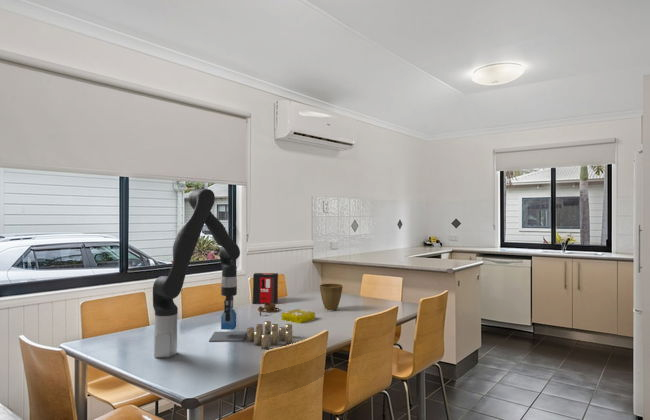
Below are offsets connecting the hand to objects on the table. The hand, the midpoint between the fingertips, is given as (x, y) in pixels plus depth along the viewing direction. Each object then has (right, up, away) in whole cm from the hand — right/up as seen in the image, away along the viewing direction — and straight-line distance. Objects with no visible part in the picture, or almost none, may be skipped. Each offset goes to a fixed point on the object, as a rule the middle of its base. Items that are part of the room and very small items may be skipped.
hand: (228, 319), depth 212 cm
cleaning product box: (+6, -11, +86) cm, 87 cm away
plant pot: (+51, -11, +65) cm, 84 cm away
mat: (0, -9, 0) cm, 9 cm away
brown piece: (+10, -11, +57) cm, 59 cm away
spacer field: (+21, -9, -5) cm, 24 cm away
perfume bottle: (0, -4, 0) cm, 4 cm away
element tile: (+32, -11, +39) cm, 52 cm away
